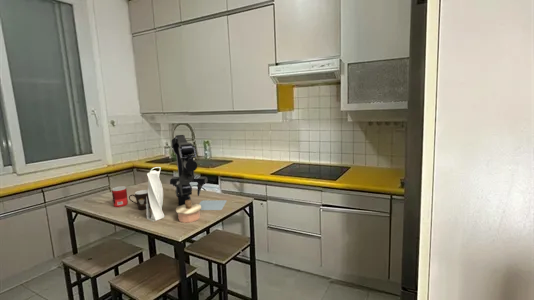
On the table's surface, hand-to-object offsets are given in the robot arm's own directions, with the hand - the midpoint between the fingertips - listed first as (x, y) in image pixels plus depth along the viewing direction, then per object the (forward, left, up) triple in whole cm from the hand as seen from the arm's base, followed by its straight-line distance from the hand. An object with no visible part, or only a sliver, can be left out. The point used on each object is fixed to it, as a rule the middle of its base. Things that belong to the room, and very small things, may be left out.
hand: (190, 195), depth 157 cm
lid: (0, -2, -7) cm, 7 cm away
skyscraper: (-18, -1, -12) cm, 22 cm away
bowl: (0, -2, -12) cm, 12 cm away
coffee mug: (-34, +14, -12) cm, 39 cm away
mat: (+7, +17, -12) cm, 21 cm away
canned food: (-50, +19, -12) cm, 55 cm away
